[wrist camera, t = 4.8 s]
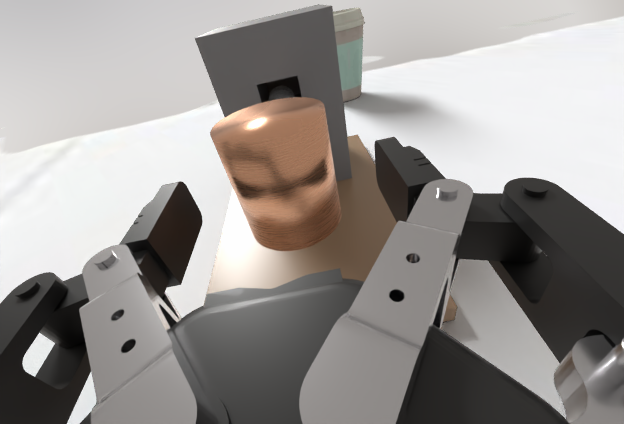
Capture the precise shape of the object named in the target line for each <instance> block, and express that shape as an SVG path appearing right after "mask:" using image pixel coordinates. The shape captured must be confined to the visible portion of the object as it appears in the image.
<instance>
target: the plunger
mask: <svg viewBox="0 0 624 424" xmlns="http://www.w3.org/2000/svg"><path fill="white" fill-rule="evenodd" d="M210 135H211V138H212V140H213V142H214V145H215V147H216V149H217V152H218V154H219V156H220V159H221V161H222V163H223V166H224V168H225V170H226V173H227V175H228V177H229V180H230V182H231V184H232V187H233V189H234V191H235V194H236V196H237V198H238V201H239V203H240V206H241V208H242V210H243V213H244V215H245V217H246V220H247V222H248V224H249V227H250V229H251V231H252V234H253V236H254V238H255V240H256V241H257V242H258V243H259V244H260V245H262V246H264V247H266V248H268V249H272V250H276V251H294V250H300V249H304V248H307V247H310V246H312V245H315V244H317V243H319V242H320V241H322V240H324V239H325V238H327V237H328V236H329V235H330V234H331V233H332V232H333V231H334V230H335V229H336V227H337V226H338V224H339V222H340V219H341V208H340V202H339V195H338V189H337V183H336V176H335V170H334V164H333V157H332V151H331V144H330V138H329V132H328V125H327V119H326V113H325V107H324V104H323V103H322V102H321V101H319V100H317V99H314V98H307V97H295V95H294V93H293V91H292V90H291V89H290V88H289V87H287V86H284V85H280V86H276V87H275V88H273V89H272V90H271V92H270V94H269V101H267V102H263V103H259V104H256V105H253V106H250V107H247V108H244V109H242V110H239V111H237V112H235V113H233V114H231V115H229V116H227V117H225V118H224V119H222V120H221V121H219V122H218V123H217V124H216V125H215V126H214V127H213V128H212V130H211V132H210Z"/></svg>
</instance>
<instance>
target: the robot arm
mask: <svg viewBox="0 0 624 424" xmlns="http://www.w3.org/2000/svg"><path fill="white" fill-rule="evenodd" d="M375 163H376V178H377V183H378V187H379V189H380V191H381V193H382V195H383V197H384V199H385V201H386V203H387V205H388V207H389V209H390V210H391V212H392V214H393V216H394V218H395V220H396V222H397V224H396V225H395V227H394V229H393V231H392V233H391V235H390V236H389V238H388V240H387V242H386V244H385V245H384V247H383V249H382V251H381V253H380V255H379V256H378V258H377V260H376V262H375V264H374V266H373V267H372V269H371V271H370V273H369V275H368V277H367V278H366V280H365V282H364V281H360V280H355V279H346V278H342V275H341V271H340V268H339V269H333V270H328V271H323V272H318V273H313V274H307V275H305V276H302V277H300V278H297V279H295V280H293V281H290V282H288V283H285V284H283V285H281V286H278V287H276V288H272V289H263V288H235V289H230V290H225V291H219V292H214V293H209V294H207V295H206V299H205V303H204V306H202V307H200V308H198V309H196V310H194V311H192V312H191V313H189V314H187V315H186V316H185V317H183V318H181V316H180V315H179V313H178V311H177V310H176V308H175V306H174V305H173V303H172V301H171V299H170V298H169V296H168V295H167V294H166V293H165V290H166V288H167V287H171V286H176V285H181V283H182V280H183V277H184V274H185V271H186V269H187V266H188V263H189V260H190V257H191V254H192V251H193V249H194V246H195V243H196V240H197V237H198V234H199V232H200V229H201V226H202V215H201V212H200V210H199V208H198V206H197V205H196V203H195V201H194V199H193V197H192V195H191V193H190V192H189V190H188V188H187V186H186V185H185V184H184V183H183V182H176V183H171V184H166V185H163V186H162V187H161V188H160V190H159V191H158V193H157V194H156V196H155V197H154V199H153V200H152V201H151V202H150V203H148V204H147V205H146V206H145V207H144V208H143V209H142V211H141V212H140V214H139V215H138V218H136V220H135V221H134V225H132V226H131V227H130V229H129V231H128V232H127V234H126V235H125V237H124V238H123V240H122V241H121V243H120V244H119V245H115V246H111V247H109V248H106V249H104V250H102V251H101V252H99V253H97V254H96V255H95V256H93V257H92V258H91V259H90V260H89V261H88V262H87V263H86V265H85V266H84V268H83V271H82V274H80V275H78V276H75V277H73V278H70V279H68V280H66V281H62V280H61V279H60V278H59V277H57V276H56V275H55V274H54V273H50V272H49V273H43V274H39V275H37V276H34V277H32V278H30V279H28V280H27V281H25V282H23V283H22V284H20V285H19V286H18V287H16V288H15V289H14V290H13V291H12V292H11V293H10V294H9V295H8V296H7V297H6V298H5V299H4V300H3V301H2V303H1V304H0V424H67V422H68V419H69V417H70V415H71V413H72V411H73V409H74V406H75V404H76V402H77V400H78V398H79V396H80V393H81V391H82V389H83V387H84V385H85V383H86V380H87V378H88V376H89V374H90V372H92V377H93V382H94V387H95V392H96V397H97V402H96V405H95V406H94V407H93V409H92V411H91V412H90V413H89V414H88V415H87V417H86V418H85V419H84V420H83V421H82V422H81V423H80V424H624V234H623V233H621V232H620V231H618V230H617V229H616V228H614V227H613V226H612V225H610V224H609V223H608V222H606V221H605V220H604V219H602V218H601V217H600V216H598V215H597V214H596V213H594V212H593V211H592V210H590V209H589V208H588V207H586V206H585V205H584V204H582V203H581V202H580V201H578V200H577V199H576V198H574V197H573V196H572V195H570V194H569V193H568V192H566V191H565V190H564V189H562V188H561V187H559V186H558V185H556V184H554V183H552V182H549V181H546V180H542V179H537V178H518V179H514V180H511V181H509V182H508V183H507V184H506V185H505V187H504V191H503V194H479V193H473V190H472V189H471V187H470V186H468V185H467V184H465V183H463V182H461V181H457V180H452V179H446V178H445V177H444V176H443V175H442V174H441V173H440V172H439V171H438V170H437V169H436V168H435V166H434V165H433V164H431V162H430V161H429V160H428V159H427V158H426V157H425V156H424V155H423V153H422V152H421V151H420V150H417V149H415V148H413V147H411V146H407V147H403V146H402V145H401V144H400V143H399V142H398V140H397V139H396V138H395V137H391V138H386V139H382V140H377V141H375ZM545 254H546V255H547V256H546V255H545ZM460 259H473V260H488V261H489V263H490V264H491V265H492V267H493V268H494V270H495V271H496V273H497V274H498V275H499V277H500V278H501V280H502V281H503V283H504V284H505V285H506V287H507V288H508V290H509V291H510V293H511V294H512V295H513V297H514V298H515V300H516V301H517V303H518V304H519V306H520V307H521V308H522V310H523V311H524V313H525V314H526V316H527V317H528V318H529V320H530V321H531V323H532V324H533V326H534V327H535V328H536V330H537V331H538V333H539V334H540V336H541V337H542V338H543V340H544V341H545V343H546V344H547V346H548V347H549V348H550V350H551V351H552V353H553V354H554V356H555V357H556V358H557V360H558V361H559V363H560V364H559V366H558V367H557V368H556V370H555V373H554V383H555V387H556V390H557V392H558V394H559V396H560V398H561V400H562V402H563V405H564V408H565V412H566V419H565V418H564V417H563V416H562V415H561V414H560V413H559V412H558V411H557V410H555V409H554V408H553V407H552V406H551V405H550V404H548V403H547V402H546V401H544V400H543V399H542V398H540V397H539V396H538V395H536V394H535V393H533V392H532V391H530V390H529V389H527V388H526V387H525V386H523V385H522V384H520V383H519V382H517V381H516V380H514V379H513V378H511V377H510V376H508V375H507V374H505V373H504V372H503V371H501V370H500V369H498V368H497V367H495V366H494V365H492V364H491V363H489V362H488V361H486V360H485V359H483V358H482V357H481V356H479V355H478V354H476V353H475V352H473V351H472V350H470V349H469V348H467V347H466V346H464V345H463V344H461V343H460V342H459V341H457V340H456V339H454V338H453V337H451V336H450V335H448V334H447V333H445V332H444V331H442V330H441V327H442V323H443V320H444V315H445V311H446V307H447V303H448V299H449V296H450V292H451V289H452V285H453V282H454V279H455V275H456V272H457V268H458V265H459V261H460ZM39 332H40V333H41V334H42V335H44V336H45V337H47V338H48V339H50V340H51V341H53V342H54V343H55V345H54V346H53V348H52V350H51V351H50V353H49V355H48V356H47V358H46V360H45V361H44V363H43V365H42V366H41V368H40V370H39V371H38V373H37V375H36V376H35V377H34V376H32V375H30V374H28V373H27V372H25V370H24V369H23V365H22V361H23V357H24V355H25V353H26V352H27V350H28V349H29V347H30V346H31V344H32V343H33V341H34V340H35V338H36V337H37V335H38V334H39Z"/></svg>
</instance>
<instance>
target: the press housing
mask: <svg viewBox="0 0 624 424" xmlns="http://www.w3.org/2000/svg"><path fill="white" fill-rule="evenodd" d="M195 40H196V43H197V45H198V48H199V51H200V53H201V56H202V58H203V61H204V63H205V66H206V69H207V72H208V74H209V77H210V79H211V82H212V85H213V87H214V90H215V93H216V95H217V98H218V101H219V103H220V106H221V109H222V111H223V114H224V116H225V117H227V116H229V115H231V114H233V113H235V112H237V111H239V110H242V109H244V108H247V107H250V106H253V105H256V104H259V103H263V102H267V101H269V94H270V92H271V90H272V89H273V88H275V87H276V86H280V85H284V86H287V87H289V88H290V89H291V90H292V91H293V93H294V95H295V97H307V98H314V99H317V100H319V101H321V102H322V103H323V104H324V107H325V113H326V119H327V125H328V132H329V138H330V144H331V151H332V157H333V164H334V170H335V176H336V183H337V189H338V195H339V202H340V208H341V219H340V222H339V224H338V226H337V227H336V229H335V230H334V231H333V232H332V233H331V234H330V235H329V236H328V237H327V238H325V239H324V240H322V241H320V242H319V243H317V244H315V245H312V246H310V247H307V248H304V249H300V250H294V251H276V250H272V249H268V248H266V247H264V246H262V245H260V244H259V243H258V242H257V241H256V240H255V238H254V236H253V234H252V231H251V229H250V227H249V224H248V222H247V220H246V217H245V215H244V213H243V210H242V208H241V206H240V203H239V201H238V198H237V196H236V194H235V191H234V189H233V191H232V195H231V199H230V203H229V207H228V211H227V214H226V218H225V222H224V226H223V230H222V234H221V238H220V242H219V246H218V250H217V254H216V258H215V262H214V266H213V270H212V274H211V278H210V282H209V286H208V290H207V294H209V293H214V292H219V291H225V290H230V289H235V288H263V289H272V288H276V287H278V286H281V285H283V284H285V283H288V282H290V281H293V280H295V279H297V278H300V277H302V276H305V275H307V274H313V273H318V272H323V271H328V270H333V269H339V268H340V271H341V275H342V278H346V279H355V280H360V281H364V282H365V280H366V278H367V277H368V275H369V273H370V271H371V269H372V267H373V266H374V264H375V262H376V260H377V258H378V256H379V255H380V253H381V251H382V249H383V247H384V245H385V244H386V242H387V240H388V238H389V236H390V235H391V233H392V231H393V229H394V227H395V225H396V224H397V222H396V220H395V218H394V216H393V214H392V212H391V210H390V209H389V207H388V205H387V203H386V201H385V199H384V197H383V195H382V193H381V191H380V189H379V187H378V183H377V178H376V166H375V164H374V162H373V161H372V159H371V157H370V155H369V154H368V152H367V150H366V148H365V147H364V145H363V143H362V142H361V140H360V138H359V136H358V135H354V136H349V137H347V130H346V122H345V113H344V105H343V96H342V88H341V79H340V70H339V62H338V53H337V45H336V36H335V27H334V19H333V10H332V6H327V5H315V6H311V7H306V8H302V9H298V10H293V11H289V12H285V13H281V14H276V15H272V16H268V17H264V18H260V19H256V20H251V21H247V22H243V23H238V24H234V25H230V26H226V27H221V28H217V29H215V30H213V31H210V32H208V33H206V34H203V35H201V36H199V37H196V38H195ZM207 294H206V295H207ZM205 299H206V298H205ZM204 303H205V302H204ZM456 310H457V306H456V304H455V302H454V301H453V299H452V297H451V295H450V296H449V299H448V303H447V307H446V311H445V315H444V320H443V322H445V321H451V320H454V319H455V314H456Z"/></svg>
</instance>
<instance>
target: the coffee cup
mask: <svg viewBox="0 0 624 424" xmlns="http://www.w3.org/2000/svg"><path fill="white" fill-rule="evenodd" d="M333 19H334V27H335V36H336V45H337V53H338V62H339V70H340V79H341V88H342V96H343V102H346V101H350V100H353V99H356V98H357V97H359V96H360V95H361V80H362V47H363V46H362V45H363V24H364V23H365V22H364V17H363V16H362V13H361V10H360V8H351V9H346V10H341V11H336V12H333Z"/></svg>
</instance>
